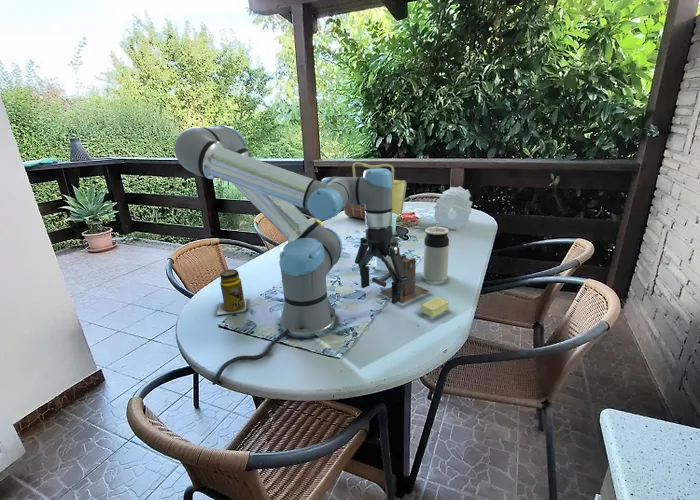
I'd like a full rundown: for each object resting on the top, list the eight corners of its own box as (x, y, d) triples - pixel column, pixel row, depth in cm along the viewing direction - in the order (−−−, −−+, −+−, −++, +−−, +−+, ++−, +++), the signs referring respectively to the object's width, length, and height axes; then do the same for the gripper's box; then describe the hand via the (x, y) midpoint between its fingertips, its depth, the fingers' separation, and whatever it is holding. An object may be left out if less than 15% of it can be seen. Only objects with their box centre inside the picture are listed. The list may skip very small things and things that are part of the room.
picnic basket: (408, 216, 206) (408, 161, 196) (379, 226, 189) (378, 167, 179) (368, 209, 225) (367, 159, 215) (339, 218, 208) (336, 164, 198)
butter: (432, 321, 101) (432, 310, 100) (421, 315, 104) (421, 304, 103) (448, 312, 105) (448, 301, 104) (437, 307, 108) (437, 296, 107)
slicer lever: (384, 289, 106) (382, 282, 105) (372, 283, 110) (370, 277, 108) (414, 266, 112) (412, 260, 111) (402, 262, 116) (401, 255, 114)
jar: (383, 276, 131) (383, 244, 126) (370, 269, 137) (369, 239, 133) (403, 270, 135) (403, 239, 131) (389, 263, 142) (388, 234, 137)
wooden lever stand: (402, 307, 109) (402, 267, 105) (379, 295, 117) (379, 258, 112) (429, 294, 116) (430, 257, 111) (406, 284, 123) (406, 249, 119)
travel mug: (445, 286, 121) (448, 234, 115) (421, 283, 124) (422, 232, 118) (448, 276, 128) (450, 227, 122) (425, 274, 131) (426, 225, 125)
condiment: (245, 311, 111) (240, 275, 107) (216, 315, 109) (209, 279, 105) (246, 300, 118) (241, 266, 114) (219, 304, 116) (212, 269, 112)
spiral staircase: (441, 238, 180) (446, 221, 202) (476, 225, 172) (477, 209, 194) (426, 205, 176) (432, 192, 198) (461, 190, 168) (464, 178, 190)
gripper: (421, 232, 94) (420, 304, 102) (360, 215, 113) (363, 277, 120) (401, 238, 90) (400, 314, 97) (341, 220, 109) (344, 284, 116)
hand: (380, 294), depth 109 cm, fingers open, 13 cm apart
